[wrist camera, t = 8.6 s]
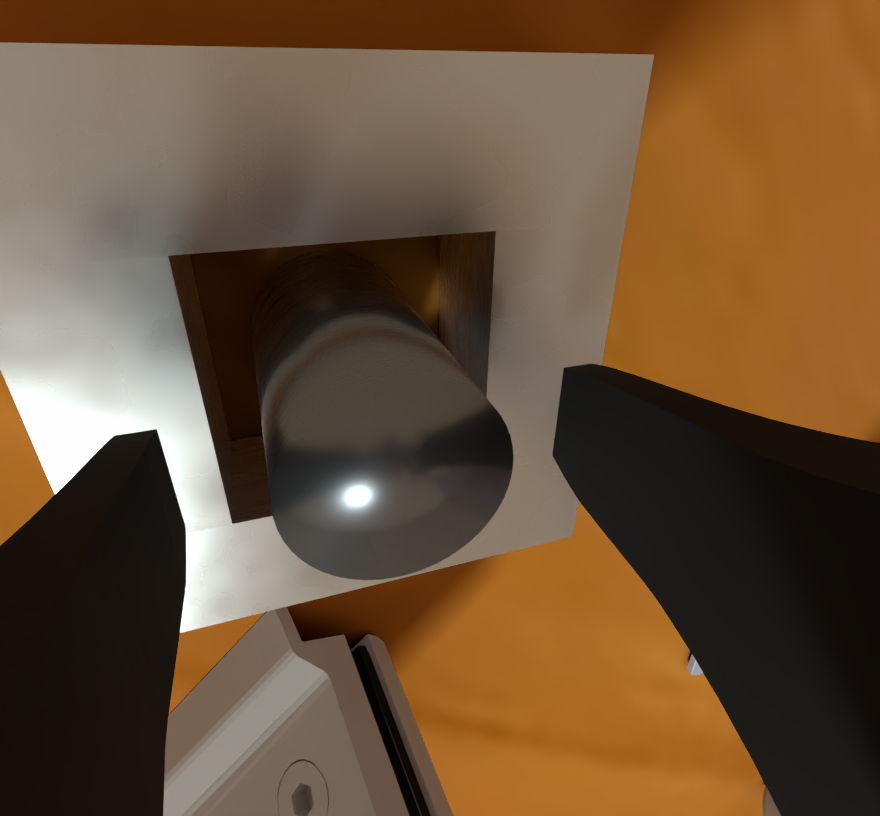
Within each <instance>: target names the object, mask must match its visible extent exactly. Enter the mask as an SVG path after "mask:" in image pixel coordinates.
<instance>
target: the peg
mask: <svg viewBox="0 0 880 816" xmlns="http://www.w3.org/2000/svg"><path fill="white" fill-rule="evenodd" d="M251 337H252V346H253V354H254V363H255V371H256V380H257V389H258V397H259V406H260V414H261V423H262V432H263V440H264V449H265V458H266V466H267V475H268V483H269V492H270V501H271V508H272V514H273V519H274V522H275V525H276V528H277V531H278V532H279V534H280V536H281V538H282V540H283V541H284V543H285V544H286V545H287V546H288V548H289V549H290V550H291V551H292V552H293V553H294V554H295V555H296V556H297V557H298V558H300V559H301V560H302V561H304V562H305V563H307V564H308V565H310V566H311V567H313V568H315V569H317V570H320V571H322V572H324V573H327V574H330V575H333V576H337V577H342V578H347V579H355V580H381V579H389V578H395V577H400V576H404V575H408V574H411V573H414V572H417V571H420V570H423V569H425V568H428V567H430V566H432V565H435V564H437V563H439V562H440V561H442V560H444V559H446V558H448V557H449V556H451V555H452V554H454V553H455V552H457V551H459V550H460V549H461V548H463V547H464V546H465V545H466V544H468V543H469V542H470V541H471V540H472V539H473V538H474V537H475V536H476V535H478V534H479V533H480V532H481V531H482V529H483V528H484V527H485V526H486V525H487V524H488V522H489V521H490V520H491V519H492V517H493V516H494V514H495V513H496V511H497V510H498V508H499V506H500V504H501V503H502V501H503V499H504V497H505V494H506V492H507V489H508V487H509V483H510V479H511V476H512V469H513V446H512V441H511V436H510V434H509V431H508V428H507V425H506V424H505V422H504V420H503V419H502V417H501V415H500V414H499V412H498V411H497V410H496V409H495V408H494V406H493V405H492V404H491V403H490V401H489V400H488V399H487V398H486V396H485V395H484V394H483V393H482V391H481V390H480V389H479V388H478V387H477V385H476V384H475V383H474V382H473V380H472V379H471V378H470V377H469V375H468V374H467V373H466V372H465V371H464V369H463V368H462V367H461V366H460V364H459V363H458V362H457V361H456V359H455V358H454V357H453V356H452V355H451V353H450V352H449V351H448V350H447V348H446V347H445V346H444V345H443V343H442V342H441V341H440V340H439V339H438V337H437V336H436V335H435V334H434V332H433V331H432V330H431V329H430V327H429V326H428V325H427V324H426V323H425V321H424V320H423V319H422V318H421V316H420V315H419V314H418V313H417V311H416V310H415V309H414V308H413V307H412V305H411V304H410V303H409V302H408V300H407V299H406V298H405V297H404V295H403V294H402V293H401V292H400V291H399V289H398V288H397V287H396V286H395V284H394V283H393V282H392V281H391V279H390V278H389V277H388V276H387V275H386V274H385V273H384V272H383V271H382V270H381V269H380V268H379V267H378V266H376V265H375V264H373V263H372V262H370V261H368V260H366V259H364V258H362V257H360V256H357V255H354V254H352V253H347V252H342V251H318V252H313V253H308V254H305V255H302V256H299V257H297V258H295V259H293V260H291V261H289V262H287V263H286V264H284V265H283V266H281V267H280V268H279V269H277V270H276V271H275V272H274V273H273V274H272V275H271V276H270V277H269V278H268V279H267V281H266V282H265V283H264V285H263V286H262V288H261V289H260V291H259V293H258V295H257V297H256V299H255V302H254V305H253V309H252V314H251Z"/></svg>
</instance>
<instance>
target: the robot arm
mask: <svg viewBox="0 0 880 816" xmlns="http://www.w3.org/2000/svg"><path fill="white" fill-rule="evenodd" d="M552 456H553V458H554V459H555V461H556V463H557V465H558V467H559V469H560V470H561V472H562V474H563V476H564V478H565V479H566V481H567V483H568V484H569V486H570V488H571V489H572V491H573V492H574V494H575V496H576V497H577V498H578V500H579V501H580V502H581V504H582V505H583V506H584V508H585V509H586V510H587V511H588V513H589V514H590V515H591V516H592V518H593V519H594V520H595V522H596V523H597V524H598V525H599V527H600V528H601V529H602V530H603V532H604V533H605V534H606V535H607V537H608V538H609V539H610V540H611V542H612V543H613V544H614V545H615V546H616V548H617V549H618V550H619V551H620V553H621V554H622V555H623V556H624V558H625V559H626V560H627V561H628V563H629V564H630V565H631V566H632V568H633V569H634V570H635V571H636V573H637V574H638V575H639V576H640V578H641V579H642V580H643V581H644V583H645V584H646V585H647V587H648V588H649V589H650V591H651V592H652V593H653V595H654V596H655V598H656V599H657V600H658V602H659V603H660V605H661V606H662V608H663V609H664V611H665V612H666V614H667V615H668V617H669V618H670V620H671V622H672V623H673V625H674V626H675V628H676V629H677V631H678V632H679V634H680V636H681V637H682V639H683V640H684V642H685V643H686V645H687V646H688V648H689V650H690V651H691V653H692V655H691V658H690V661H689V663H688V667H687V669H688V670H689V672H690V673H691V674H692V675H699V674H702V673H704V675H705V676H706V678H707V680H708V681H709V683H710V685H711V686H712V688H713V690H714V691H715V693H716V695H717V696H718V698H719V700H720V702H721V703H722V705H723V707H724V709H725V711H726V712H727V714H728V716H729V718H730V720H731V722H732V723H733V725H734V727H735V729H736V731H737V732H738V734H739V736H740V738H741V740H742V741H743V743H744V745H745V747H746V749H747V751H748V752H749V754H750V756H751V758H752V760H753V761H754V763H755V765H756V767H757V769H758V771H759V773H760V775H761V777H762V779H763V781H764V783H765V785H766V787H767V789H768V791H769V793H770V795H771V797H772V799H773V801H774V803H775V805H776V807H777V809H778V811H779V813H780V815H781V816H880V443H875V442H870V441H864V440H859V439H854V438H849V437H844V436H839V435H834V434H829V433H825V432H821V431H817V430H812V429H808V428H804V427H800V426H795V425H791V424H787V423H783V422H779V421H776V420H772V419H768V418H765V417H761V416H758V415H754V414H751V413H748V412H744V411H741V410H738V409H734V408H731V407H728V406H725V405H722V404H718V403H715V402H712V401H709V400H706V399H703V398H700V397H697V396H694V395H691V394H688V393H685V392H682V391H680V390H677V389H674V388H671V387H668V386H665V385H662V384H659V383H656V382H653V381H650V380H648V379H645V378H642V377H639V376H636V375H633V374H630V373H626V372H623V371H620V370H617V369H613V368H610V367H606V366H602V365H597V364H592V363H591V364H585V365H578V366H572V367H565V368H564V369H563V377H562V384H561V392H560V400H559V407H558V415H557V423H556V430H555V438H554V446H553V453H552ZM185 587H186V527H185V523H184V520H183V516H182V513H181V510H180V506H179V503H178V500H177V496H176V493H175V489H174V486H173V483H172V479H171V476H170V472H169V469H168V466H167V462H166V459H165V456H164V452H163V449H162V445H161V442H160V439H159V435H158V432H157V429H155V430H148V431H141V432H135V433H128V434H122V435H115V436H113V437H112V438H111V439H110V440H109V441H108V442H107V443H106V444H105V445H103V446H102V447H101V448H100V449H99V450H98V451H97V453H96V454H95V455H94V456H93V457H92V458H91V459H90V460H89V461H88V462H87V463H86V464H85V465H84V466H83V467H82V468H81V469H80V470H79V471H78V472H77V473H76V474H75V475H74V476H73V477H72V478H71V479H70V480H69V481H68V482H67V483H66V484H65V485H64V486H63V487H62V488H61V489H60V490H59V491H58V492H57V493H56V494H55V495H54V496H53V497H52V498H51V499H50V500H49V501H48V502H47V503H46V504H45V505H44V506H43V507H42V508H41V509H40V510H39V511H38V512H37V513H36V514H35V515H34V516H33V517H32V518H31V519H30V520H29V521H28V522H26V523H25V524H24V525H23V526H22V527H21V528H20V529H19V530H18V531H16V532H15V533H14V534H13V535H12V536H11V537H10V538H9V539H8V540H7V541H5V542H4V543H3V544H2V545H1V546H0V816H163V805H164V773H165V745H166V734H167V723H168V713H169V706H170V699H171V692H172V684H173V677H174V670H175V662H176V655H177V648H178V641H179V633H180V626H181V618H182V611H183V603H184V595H185Z"/></svg>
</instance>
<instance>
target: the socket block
mask: <svg viewBox="0 0 880 816" xmlns="http://www.w3.org/2000/svg"><path fill="white" fill-rule="evenodd" d="M653 59H654V55H652V54H599V53H545V52H491V51H438V50H384V49H330V48H277V47H223V46H169V45H116V44H62V43H8V42H0V369H1V372H2V374H3V376H4V378H5V381H6V383H7V385H8V388H9V390H10V392H11V394H12V397H13V399H14V401H15V404H16V406H17V408H18V411H19V413H20V415H21V417H22V420H23V422H24V424H25V427H26V429H27V431H28V433H29V436H30V438H31V440H32V443H33V445H34V447H35V450H36V452H37V454H38V456H39V459H40V461H41V463H42V466H43V468H44V470H45V472H46V475H47V477H48V479H49V482H50V484H51V486H52V489H53V491H54V493H55V494H56V493H57V492H58V491H59V490H60V489H61V488H62V487H63V486H64V485H65V484H66V483H67V482H68V481H69V480H70V479H71V478H72V477H73V476H74V475H75V474H76V473H77V472H78V471H79V470H80V469H81V468H82V467H83V466H84V465H85V464H86V463H87V462H88V461H89V460H90V459H91V458H92V457H93V456H94V455H95V454H96V453H97V451H98V450H99V449H100V448H101V447H102V446H103V445H105V444H106V443H107V442H108V441H109V440H110V439H111V438H112V437H113V436H115V435H122V434H128V433H135V432H141V431H148V430H155V429H157V432H158V435H159V439H160V442H161V445H162V449H163V452H164V456H165V459H166V462H167V466H168V469H169V472H170V476H171V479H172V483H173V486H174V489H175V493H176V496H177V500H178V503H179V506H180V510H181V513H182V516H183V520H184V523H185V527H186V587H185V595H184V603H183V611H182V618H181V626H180V633H181V632H186V631H190V630H194V629H198V628H202V627H206V626H210V625H214V624H218V623H222V622H226V621H230V620H234V619H238V618H242V617H247V616H251V615H255V614H259V613H263V612H267V611H271V610H275V609H279V608H283V607H287V606H291V605H295V604H299V603H303V602H307V601H312V600H316V599H320V598H324V597H328V596H332V595H336V594H340V593H344V592H348V591H352V590H356V589H360V588H364V587H368V586H373V585H377V584H381V583H385V582H389V581H393V580H397V579H401V578H405V577H409V576H413V575H417V574H421V573H425V572H429V571H434V570H438V569H442V568H446V567H450V566H454V565H458V564H462V563H466V562H470V561H474V560H478V559H482V558H486V557H490V556H494V555H499V554H503V553H507V552H511V551H515V550H519V549H523V548H527V547H531V546H535V545H539V544H543V543H547V542H551V541H555V540H560V539H564V538H568V537H572V536H573V531H574V525H575V519H576V513H577V507H578V501H579V500H578V498H577V497H576V496H575V494H574V492H573V491H572V489H571V488H570V486H569V484H568V483H567V481H566V479H565V478H564V476H563V474H562V472H561V470H560V469H559V467H558V465H557V463H556V461H555V459H554V458H553V456H552V453H553V446H554V438H555V430H556V423H557V415H558V407H559V400H560V392H561V384H562V377H563V369H564V368H565V367H572V366H578V365H585V364H591V363H592V364H597V365H602V360H603V354H604V348H605V342H606V336H607V330H608V324H609V318H610V313H611V307H612V301H613V295H614V289H615V283H616V277H617V271H618V265H619V260H620V254H621V248H622V242H623V236H624V230H625V224H626V218H627V212H628V206H629V201H630V195H631V189H632V183H633V177H634V171H635V165H636V159H637V153H638V147H639V142H640V136H641V130H642V124H643V118H644V112H645V106H646V100H647V94H648V89H649V83H650V77H651V71H652V65H653ZM435 235H440V288H439V340H440V341H441V342H442V343H443V345H444V346H445V347H446V348H447V350H448V351H449V352H450V353H451V355H452V356H453V357H454V358H455V359H456V361H457V362H458V363H459V364H460V366H461V367H462V368H463V369H464V371H465V372H466V373H467V374H468V375H469V377H470V378H471V379H472V380H473V382H474V383H475V384H476V385H477V387H478V388H479V389H480V390H481V391H482V393H483V394H484V395H485V396H486V398H487V399H488V400H489V401H490V403H491V404H492V405H493V406H494V408H495V409H496V410H497V411H498V412H499V414H500V415H501V417H502V419H503V420H504V422H505V424H506V425H507V428H508V431H509V434H510V436H511V441H512V446H513V469H512V476H511V479H510V483H509V487H508V489H507V492H506V494H505V497H504V499H503V501H502V503H501V504H500V506H499V508H498V510H497V511H496V513H495V514H494V516H493V517H492V519H491V520H490V521H489V522H488V524H487V525H486V526H485V527H484V528H483V529H482V531H481V532H480V533H479V534H478V535H476V536H475V537H474V538H473V539H472V540H471V541H470V542H469V543H468V544H466V545H465V546H464V547H463V548H461V549H460V550H459V551H457V552H455V553H454V554H452V555H451V556H449V557H448V558H446V559H444V560H442V561H440V562H439V563H437V564H435V565H432V566H430V567H428V568H425V569H423V570H420V571H417V572H414V573H411V574H408V575H404V576H400V577H395V578H389V579H381V580H355V579H347V578H342V577H337V576H333V575H330V574H327V573H324V572H322V571H320V570H317V569H315V568H313V567H311V566H310V565H308V564H307V563H305V562H304V561H302V560H301V559H300V558H298V557H297V556H296V555H295V554H294V553H293V552H292V551H291V550H290V549H289V548H288V546H287V545H286V544H285V543H284V541H283V540H282V538H281V536H280V534H279V532H278V531H277V528H276V525H275V522H274V519H273V514H272V508H271V501H270V492H269V483H268V475H267V466H266V458H265V449H264V440H263V435H260V436H254V437H248V438H242V439H236V440H230V437H229V432H228V428H227V423H226V418H225V414H224V409H223V405H222V400H221V396H220V391H219V387H218V382H217V378H216V373H215V368H214V364H213V359H212V355H211V350H210V346H209V341H208V337H207V332H206V327H205V323H204V318H203V314H202V309H201V305H200V300H199V296H198V291H197V287H196V282H195V277H194V273H193V268H192V264H191V259H190V255H189V254H196V253H210V252H223V251H236V250H249V249H263V248H276V247H289V246H302V245H315V244H329V243H342V242H355V241H368V240H382V239H395V238H408V237H421V236H435Z"/></svg>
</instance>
